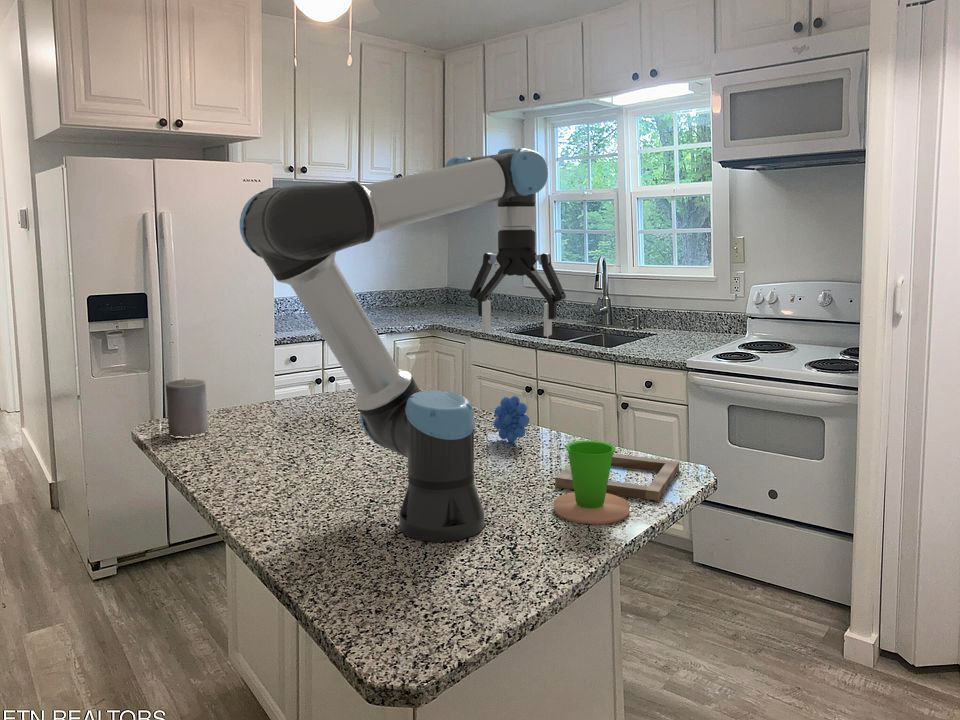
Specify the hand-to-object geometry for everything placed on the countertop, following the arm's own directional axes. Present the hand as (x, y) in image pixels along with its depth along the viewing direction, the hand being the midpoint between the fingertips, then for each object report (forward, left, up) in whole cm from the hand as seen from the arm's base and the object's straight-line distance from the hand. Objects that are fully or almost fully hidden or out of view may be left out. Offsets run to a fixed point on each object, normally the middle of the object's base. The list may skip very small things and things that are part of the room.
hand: (516, 334), depth 157 cm
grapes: (+25, +11, -31) cm, 41 cm away
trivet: (-12, -20, -31) cm, 39 cm away
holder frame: (+8, -20, -31) cm, 38 cm away
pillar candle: (-2, +91, -31) cm, 96 cm away
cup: (-12, -20, -30) cm, 38 cm away
